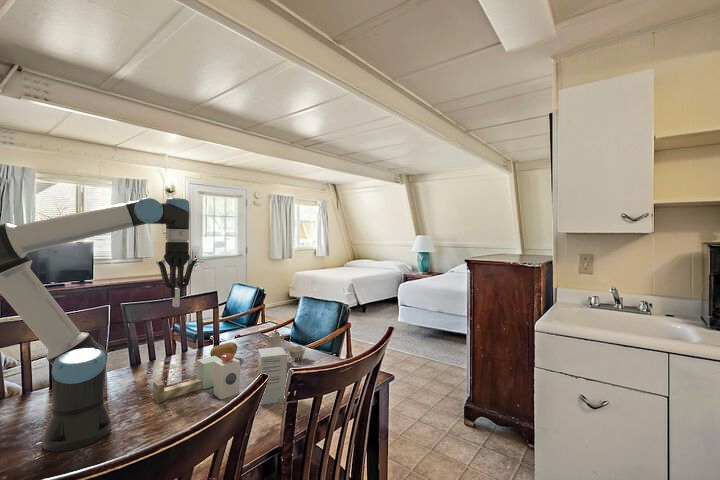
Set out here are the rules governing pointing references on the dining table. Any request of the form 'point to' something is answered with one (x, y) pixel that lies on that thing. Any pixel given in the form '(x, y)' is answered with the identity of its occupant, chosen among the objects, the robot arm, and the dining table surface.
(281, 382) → the supplement box
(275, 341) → the chinaware
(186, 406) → the dining table surface
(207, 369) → the block
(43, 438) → the robot arm
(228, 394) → the white tall block
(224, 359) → the button
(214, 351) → the potato
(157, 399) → the rail
